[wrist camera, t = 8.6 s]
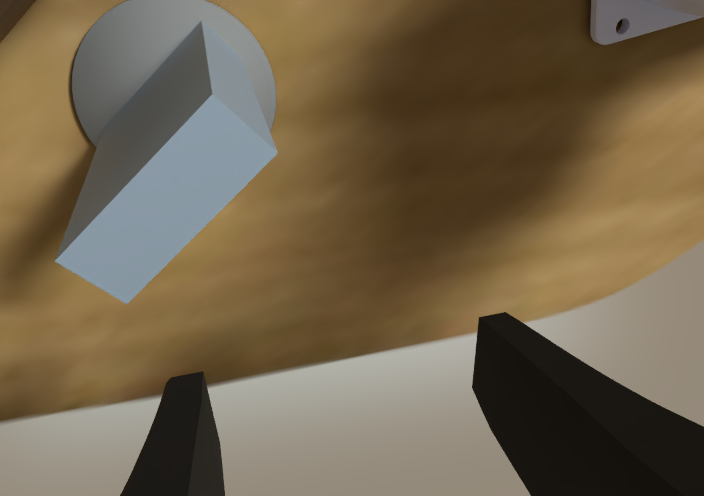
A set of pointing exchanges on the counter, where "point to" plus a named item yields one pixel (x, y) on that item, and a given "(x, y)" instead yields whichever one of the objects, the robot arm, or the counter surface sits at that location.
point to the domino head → (166, 166)
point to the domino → (11, 14)
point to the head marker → (154, 55)
